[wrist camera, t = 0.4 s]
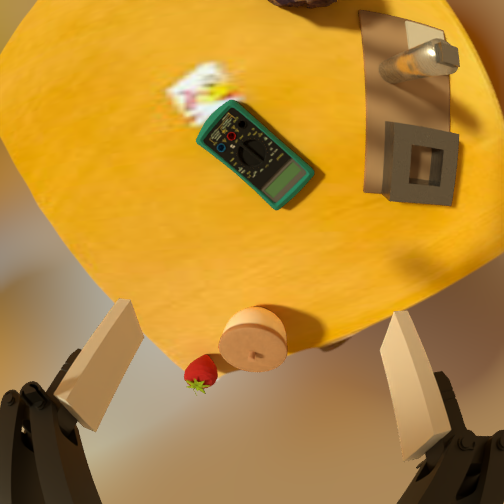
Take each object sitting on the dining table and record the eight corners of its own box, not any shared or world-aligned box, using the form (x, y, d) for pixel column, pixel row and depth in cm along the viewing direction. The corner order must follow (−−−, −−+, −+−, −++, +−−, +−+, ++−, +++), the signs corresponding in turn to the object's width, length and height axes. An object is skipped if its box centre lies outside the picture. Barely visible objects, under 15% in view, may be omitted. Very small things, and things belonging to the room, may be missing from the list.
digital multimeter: (231, 96, 32) (226, 95, 29) (315, 170, 35) (317, 175, 33) (196, 137, 35) (189, 139, 32) (278, 207, 38) (277, 214, 36)
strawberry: (229, 357, 54) (220, 397, 45) (205, 368, 57) (193, 405, 48) (209, 341, 52) (196, 380, 43) (185, 352, 55) (171, 389, 46)
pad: (404, 21, 22) (406, 20, 21) (441, 32, 21) (443, 31, 21) (410, 65, 25) (411, 65, 25) (445, 75, 24) (447, 74, 24)
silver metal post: (377, 58, 26) (431, 31, 12) (401, 62, 25) (463, 42, 12) (379, 81, 27) (436, 67, 14) (402, 85, 27) (467, 77, 13)
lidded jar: (256, 284, 44) (249, 324, 36) (300, 321, 47) (301, 362, 39) (215, 316, 49) (202, 355, 41) (258, 348, 52) (252, 387, 43)
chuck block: (385, 121, 30) (394, 122, 27) (446, 131, 28) (459, 134, 25) (381, 193, 34) (389, 201, 31) (440, 198, 33) (451, 205, 30)
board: (358, 11, 23) (359, 9, 22) (441, 31, 21) (443, 30, 21) (363, 191, 35) (364, 192, 35) (440, 197, 33) (442, 198, 33)
